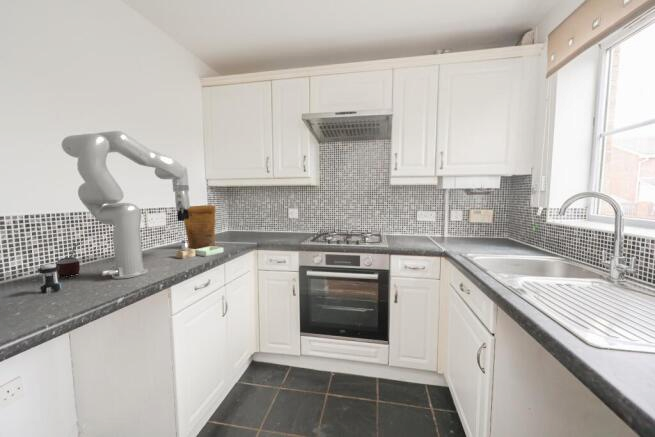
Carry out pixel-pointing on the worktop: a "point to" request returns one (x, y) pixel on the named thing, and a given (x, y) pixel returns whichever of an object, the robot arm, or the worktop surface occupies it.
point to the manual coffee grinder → (68, 265)
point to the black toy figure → (49, 278)
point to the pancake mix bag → (200, 227)
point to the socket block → (185, 253)
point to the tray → (209, 251)
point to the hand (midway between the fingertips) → (183, 219)
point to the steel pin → (185, 245)
